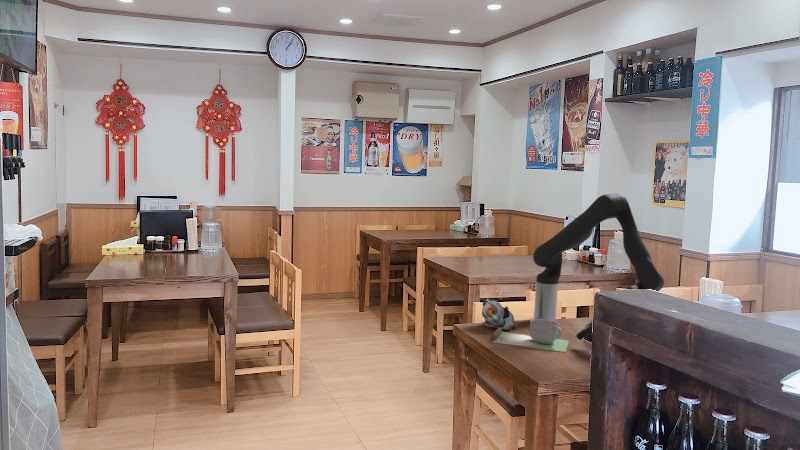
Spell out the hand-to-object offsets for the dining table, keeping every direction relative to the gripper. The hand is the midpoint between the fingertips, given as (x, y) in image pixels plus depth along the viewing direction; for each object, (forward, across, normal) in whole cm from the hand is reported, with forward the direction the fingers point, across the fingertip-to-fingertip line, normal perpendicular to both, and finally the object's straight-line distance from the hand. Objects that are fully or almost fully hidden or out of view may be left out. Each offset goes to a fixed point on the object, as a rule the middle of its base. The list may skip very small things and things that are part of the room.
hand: (577, 337), depth 231 cm
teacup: (+11, 0, -5) cm, 12 cm away
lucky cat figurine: (+26, -15, -20) cm, 35 cm away
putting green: (+15, 0, -9) cm, 17 cm away
